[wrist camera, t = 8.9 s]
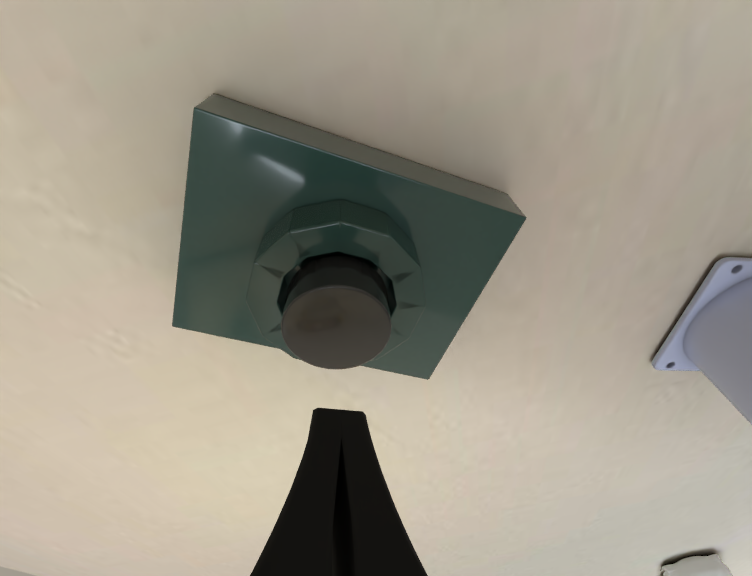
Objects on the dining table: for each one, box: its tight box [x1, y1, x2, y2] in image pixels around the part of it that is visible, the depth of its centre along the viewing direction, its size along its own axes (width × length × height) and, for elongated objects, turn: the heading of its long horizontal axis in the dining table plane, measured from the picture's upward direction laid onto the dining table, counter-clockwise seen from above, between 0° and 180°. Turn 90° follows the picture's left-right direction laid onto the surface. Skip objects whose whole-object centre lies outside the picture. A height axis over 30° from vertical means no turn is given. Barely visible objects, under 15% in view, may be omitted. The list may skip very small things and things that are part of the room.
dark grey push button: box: [281, 256, 392, 369], centre depth 16 cm, size 4×4×2 cm
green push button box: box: [172, 94, 526, 380], centre depth 18 cm, size 13×10×4 cm
